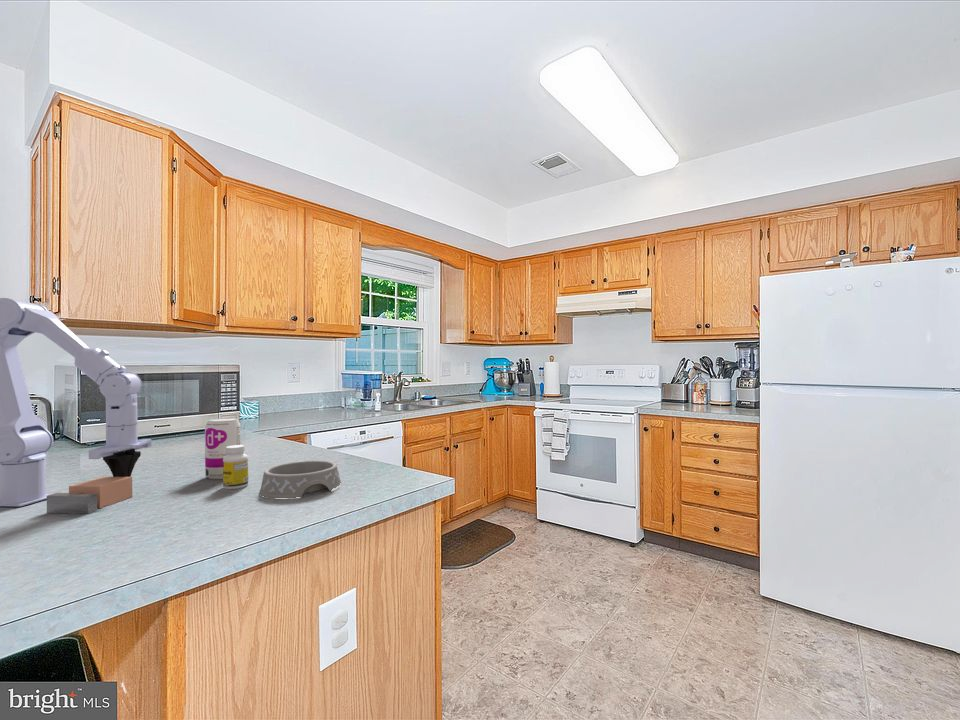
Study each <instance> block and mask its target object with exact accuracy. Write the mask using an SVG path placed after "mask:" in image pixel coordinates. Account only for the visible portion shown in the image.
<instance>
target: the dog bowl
mask: <svg viewBox="0 0 960 720" xmlns="http://www.w3.org/2000/svg"><path fill="white" fill-rule="evenodd" d="M338 469H339V468H338V466H337V464H336V463H335V462H333V461H330V460H329V461H328V460H301V461H293V462H286V463H280V464H276V465H273V466H269V467H268V468H266V469H265V470H264V472H263V477H262V481H261V485H260V490H259V492H258V494H259V496H260V495H261V496H260V497H262V496H264V497H268V498H267V499H269V498H296V497H301V498H302V496H303V494H307V492H308V493H313V492H317V491H321V490H323V489H322V488H324V489H326V488H327V489H328V490H329V491H330V490H332V489H333V488H336V487H337V486H339V485H340V483H342V481H341V477H340V473H339V470H338ZM325 487H326V488H325ZM320 489H321V490H320ZM316 490H317V491H316ZM312 491H313V492H312ZM264 497H263V498H264Z"/></svg>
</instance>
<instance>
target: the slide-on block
mask: <svg viewBox="0 0 960 720" xmlns="http://www.w3.org/2000/svg"><path fill="white" fill-rule="evenodd" d="M68 493H97V509H101V508H105V507H107V506H110V505H114V504H115V503H119V502H121V501H124V500H128V499H129V498H132V497H133V476H131V477H113V476H101V477H97V478H94V479H90V480H86V481H82V482H79V483H75V484H71V485H69V486H68Z"/></svg>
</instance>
